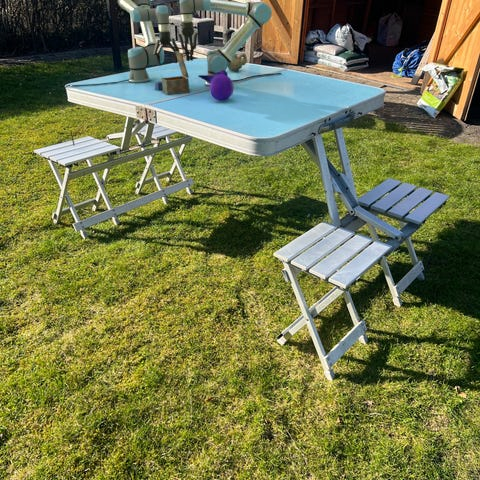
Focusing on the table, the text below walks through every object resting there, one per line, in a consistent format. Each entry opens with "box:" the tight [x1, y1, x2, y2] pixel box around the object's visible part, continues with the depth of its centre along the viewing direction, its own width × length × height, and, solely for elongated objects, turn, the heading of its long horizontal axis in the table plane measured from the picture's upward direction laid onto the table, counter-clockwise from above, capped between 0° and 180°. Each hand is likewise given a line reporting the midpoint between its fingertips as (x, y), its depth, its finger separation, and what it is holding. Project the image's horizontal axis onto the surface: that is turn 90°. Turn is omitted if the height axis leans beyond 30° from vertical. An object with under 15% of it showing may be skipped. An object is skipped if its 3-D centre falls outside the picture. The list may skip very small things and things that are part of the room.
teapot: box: [227, 52, 248, 73], centre depth 364 cm, size 21×12×15 cm, turn 120°
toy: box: [198, 70, 235, 102], centre depth 281 cm, size 16×18×27 cm
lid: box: [175, 50, 193, 79], centre depth 299 cm, size 16×11×8 cm
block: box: [154, 80, 163, 91], centre depth 311 cm, size 5×5×5 cm
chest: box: [161, 75, 190, 96], centre depth 303 cm, size 15×11×9 cm
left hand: (167, 64), depth 316 cm, fingers open, 13 cm apart
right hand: (189, 60), depth 299 cm, fingers closed on lid, 2 cm apart
